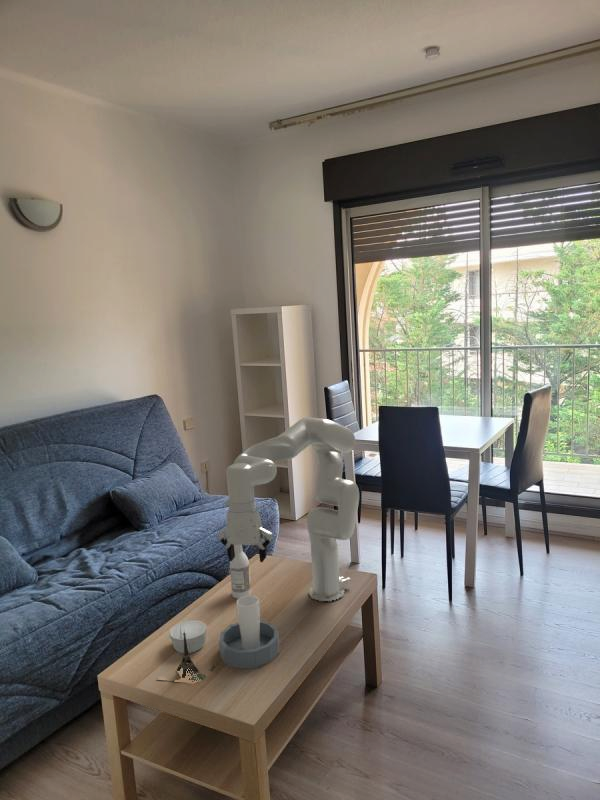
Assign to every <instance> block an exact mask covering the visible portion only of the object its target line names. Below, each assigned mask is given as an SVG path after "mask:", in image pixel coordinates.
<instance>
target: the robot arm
mask: <svg viewBox="0 0 600 800" xmlns="http://www.w3.org/2000/svg"><path fill="white" fill-rule="evenodd" d="M310 445H311V446H312V447H313V449H314V450H315V452H316V455H317V457H318V463H319V464H318V472H317V479H316V484H315V492H314V493H315V496H314V497H315V498H316V500H317V501H318V502H320V503H323V504H326V505H330V506H335V507H337V508H338V509H333V508H330V507H324V506H316V507H313V508H311V509H310V510H309V511H308V513H307V515H306V520H305V521H306V528H307V531H308V536H309V541H310V542H309V543H310V555H311V571H312V573H311V574H312V586H311V587H310V588H309V590H308V595H309V596H310V598H311V599H313V600H314V599H315V601H317V600H318V601H317V602H323V601H328V602H333V601H332V600H334V601H337V600H340V599H341V598H342V597H344V595H345V593H344V592H345V588H344V586H345V585H347V584H350V583H352V579H351V577H348V576H347V577H346V578H345V577H344V576H340V564H339V563H340V562H339V547H338V545H339V544H338V542H337V540H338V541H347V540H350V538H352V536H353V534H354V532H355V528H356V521H357V515H358V508H359V503H360V491H359V487H358V485H357V483H356V482H355V481H354V480H350V479H346V478H345V479H344V478H343V471H344V461H343V458H342V456H341V454H348V453H350V452H351V451H352V450H353V449H354V448H355V445H356V436H355V434H354V432H353V431H352V430H351V429H350V428H348V427H346V426H344V425H342V424H340V423H337V422H336V421H333V420H330V419H327V418H320V417H319V418H318V417H304V418H301V419H299V420H298V421H296V422H295V423H294V424H292V425H291V426H290V427H289V428H288V429H286V430H285V431H283V432H282V433H281V434H279V435H277V436H276V437H272V438H269V439H266V440H263V441H261V442H259V443H256V444H252V445H251V446H249V448H246V450H244V451H243V452H242V453H240V454H239V455H238V456H237V457H236V458H235V460H234V462H233V464H231V465H229V466H227V468H226V471H225V472H226V474H225V475H226V482H227V483H226V484H227V493H228V500H227V501H225V503H224V506H225V507H228V510H227V511H226V522H225V524H226V527H225V528H224V529H222V530H220V531H218V532H217V534H216V535H217V538H218V539H219V540H220V543H221V544H223V546H224V547H225V549H226V551H227V552H226V553H227V558H228V560H229V562H230V561H232V560H233V559H234V558H235V550H234V544H239V545H242V546H243V545H245V546H246V545H248V546H255V545H257V547H259V549H258V553H259V554H258V556H259V562H260V563H264V560H265V559H267V548H266V547H268V545H270V543H271V541H272V539H273V536H274V533H273V532H271V531H269V530H267V529H265V528H263V525H262V520H261V516H260V513H259V509H258V507H256V501H255V500H256V499H255V489H254V487H255V486H260V485H265V484H269V483H271V482H272V481H274V479H275V478H276V476H277V473H278V470H277V469H278V467H277V465H276V462H283V461H287V460H291V459H294V458H295V457H297V456H298V455H299V454H301V452H302V451H304V450H305V449H306V448H308V447H309V446H310ZM225 535H226V537H225ZM263 536H264V537H266V540H265V539H263ZM340 597H341V598H340ZM339 598H340V599H339ZM336 599H337V600H336Z"/></svg>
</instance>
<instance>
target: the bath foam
mask: <svg viewBox="0 0 600 800" xmlns="http://www.w3.org/2000/svg"><path fill="white" fill-rule="evenodd" d="M233 545H234V550H235V558H234V559H233V560H232V561H229V574H230V584H231V595H232V597H233V598H234V599H237V600H238V599H239V598H241V597H243V596H248V595H251V594H252V585H251V570H250V561H249V558H248V556H247V555H246V553H245V552H244V551H243V545H239V544H233Z"/></svg>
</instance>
